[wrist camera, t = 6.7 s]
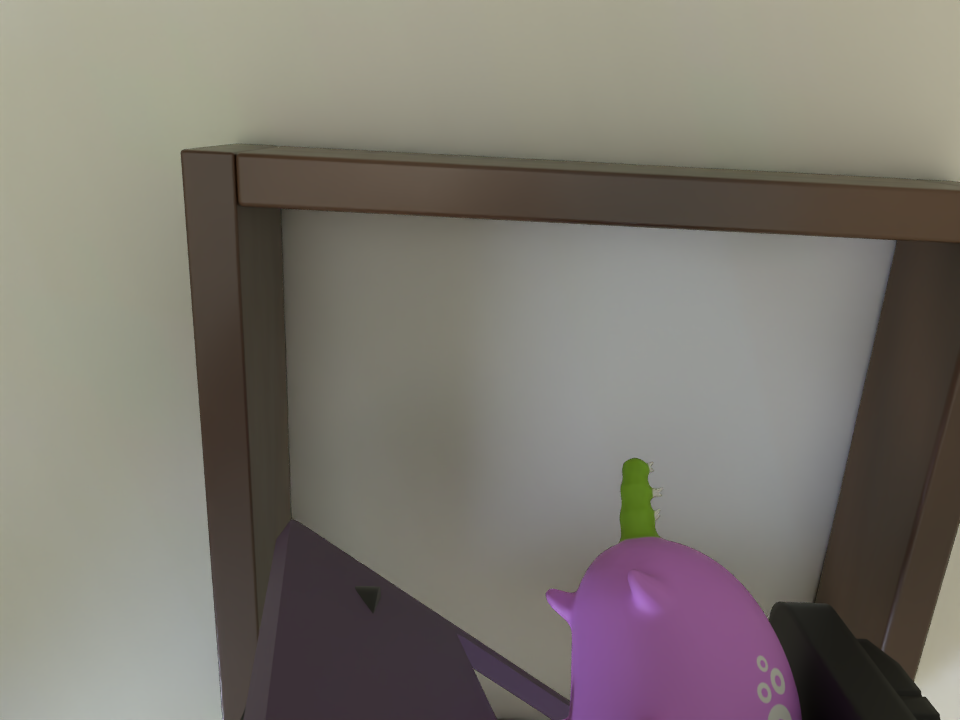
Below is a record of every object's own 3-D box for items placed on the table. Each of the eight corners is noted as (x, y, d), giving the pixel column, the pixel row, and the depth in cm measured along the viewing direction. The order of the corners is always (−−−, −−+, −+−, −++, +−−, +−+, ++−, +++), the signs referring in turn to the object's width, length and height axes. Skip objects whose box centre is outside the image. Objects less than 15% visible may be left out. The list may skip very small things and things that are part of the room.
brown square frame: (265, 736, 18) (230, 838, 15) (234, 143, 13) (179, 149, 11) (810, 759, 18) (864, 862, 15) (952, 180, 14) (1057, 194, 11)
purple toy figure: (167, 875, 5) (975, 1298, 7) (581, 299, 6) (1237, 829, 8) (248, 573, 12) (658, 833, 14) (440, 315, 12) (811, 598, 14)
